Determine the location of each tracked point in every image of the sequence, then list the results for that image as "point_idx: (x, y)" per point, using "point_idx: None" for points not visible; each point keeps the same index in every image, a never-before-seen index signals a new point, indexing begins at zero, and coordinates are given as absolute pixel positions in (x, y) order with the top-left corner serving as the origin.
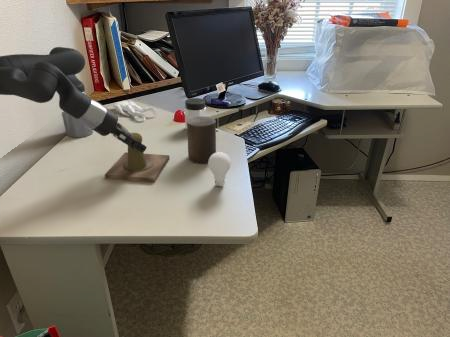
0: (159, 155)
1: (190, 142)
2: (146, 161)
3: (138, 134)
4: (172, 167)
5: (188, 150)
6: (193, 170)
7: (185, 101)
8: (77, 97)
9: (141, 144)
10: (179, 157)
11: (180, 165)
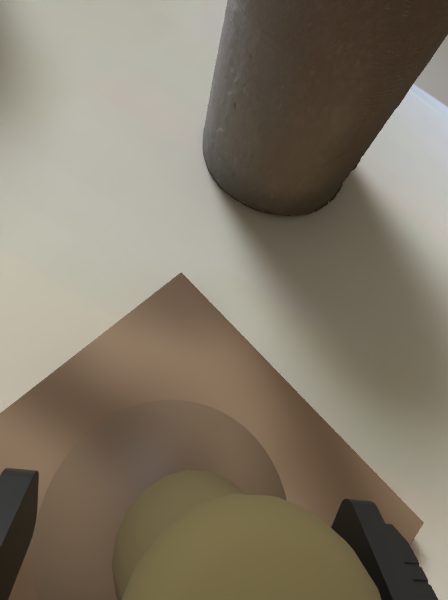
0: (138, 322)
1: (335, 127)
2: (172, 452)
3: (313, 572)
4: (285, 329)
5: (270, 172)
6: (374, 265)
7: None
8: None
9: (404, 578)
10: (195, 230)
11: (288, 282)
